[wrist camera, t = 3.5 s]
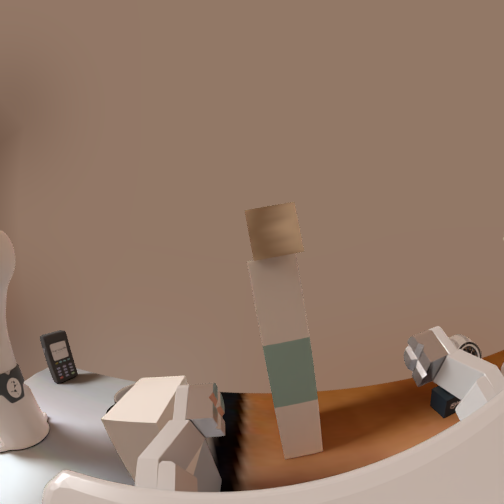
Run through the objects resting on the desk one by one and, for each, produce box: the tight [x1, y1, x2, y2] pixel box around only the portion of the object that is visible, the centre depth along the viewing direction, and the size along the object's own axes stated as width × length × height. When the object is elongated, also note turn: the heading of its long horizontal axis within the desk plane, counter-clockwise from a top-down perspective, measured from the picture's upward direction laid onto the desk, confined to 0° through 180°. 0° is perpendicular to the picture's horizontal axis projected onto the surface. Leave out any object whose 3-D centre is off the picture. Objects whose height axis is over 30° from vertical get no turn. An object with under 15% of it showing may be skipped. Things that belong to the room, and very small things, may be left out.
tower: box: [247, 253, 323, 459], centre depth 32 cm, size 5×10×26 cm, turn 179°
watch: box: [430, 334, 482, 418], centre depth 26 cm, size 6×8×11 cm
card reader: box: [40, 330, 78, 383], centre depth 60 cm, size 9×4×15 cm, turn 161°
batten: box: [245, 202, 304, 261], centre depth 29 cm, size 4×22×4 cm, turn 179°
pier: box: [101, 376, 222, 492], centre depth 19 cm, size 5×9×16 cm, turn 179°
